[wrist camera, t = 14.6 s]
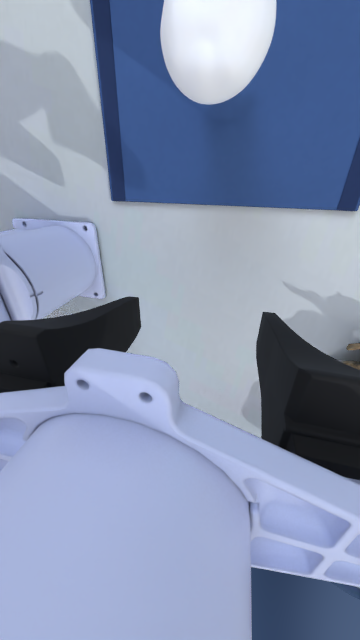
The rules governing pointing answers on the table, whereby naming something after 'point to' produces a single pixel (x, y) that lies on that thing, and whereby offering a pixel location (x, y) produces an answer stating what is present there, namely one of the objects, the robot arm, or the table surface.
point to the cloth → (244, 133)
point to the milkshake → (217, 51)
